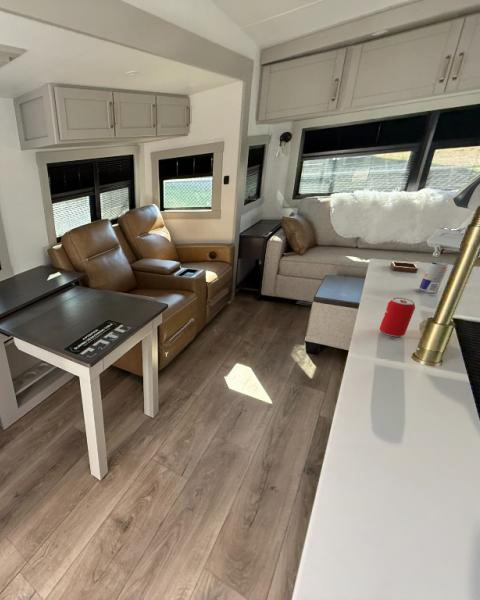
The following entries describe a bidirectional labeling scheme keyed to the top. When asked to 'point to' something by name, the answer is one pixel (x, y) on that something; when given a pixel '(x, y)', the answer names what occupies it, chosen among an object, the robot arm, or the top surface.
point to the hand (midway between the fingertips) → (450, 258)
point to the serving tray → (404, 267)
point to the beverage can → (397, 316)
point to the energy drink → (433, 277)
